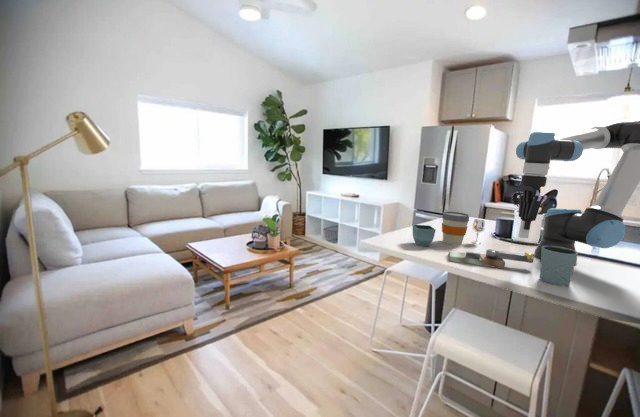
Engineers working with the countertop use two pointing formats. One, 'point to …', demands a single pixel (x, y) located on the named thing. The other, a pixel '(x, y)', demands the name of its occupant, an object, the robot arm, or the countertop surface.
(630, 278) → the countertop surface
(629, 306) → the countertop surface
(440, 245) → the countertop surface
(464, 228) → the reusable coffee cup
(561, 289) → the countertop surface
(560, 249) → the grey green cup
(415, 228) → the flower pot
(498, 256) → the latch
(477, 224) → the wineglass
